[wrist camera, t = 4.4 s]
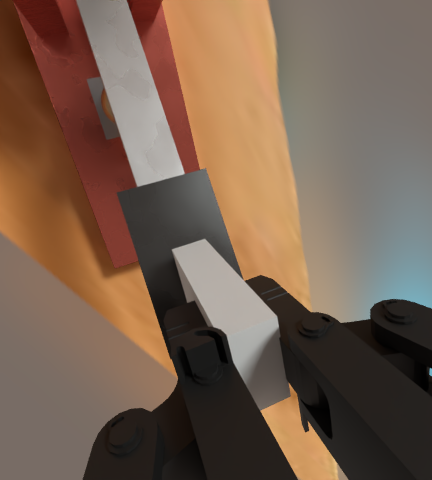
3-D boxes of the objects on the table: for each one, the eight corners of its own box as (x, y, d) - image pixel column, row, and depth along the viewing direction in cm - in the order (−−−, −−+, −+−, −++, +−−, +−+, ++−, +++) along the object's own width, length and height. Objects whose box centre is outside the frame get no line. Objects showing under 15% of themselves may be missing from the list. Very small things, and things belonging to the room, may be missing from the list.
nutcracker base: (-8, -62, 21) (-94, -208, 12) (137, -75, 23) (154, -206, 14) (114, 260, 31) (116, 313, 22) (209, 230, 33) (247, 266, 24)
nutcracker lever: (37, -54, 17) (19, -106, 15) (116, -62, 18) (111, -112, 16) (168, 347, 16) (170, 359, 14) (244, 317, 17) (258, 324, 15)
